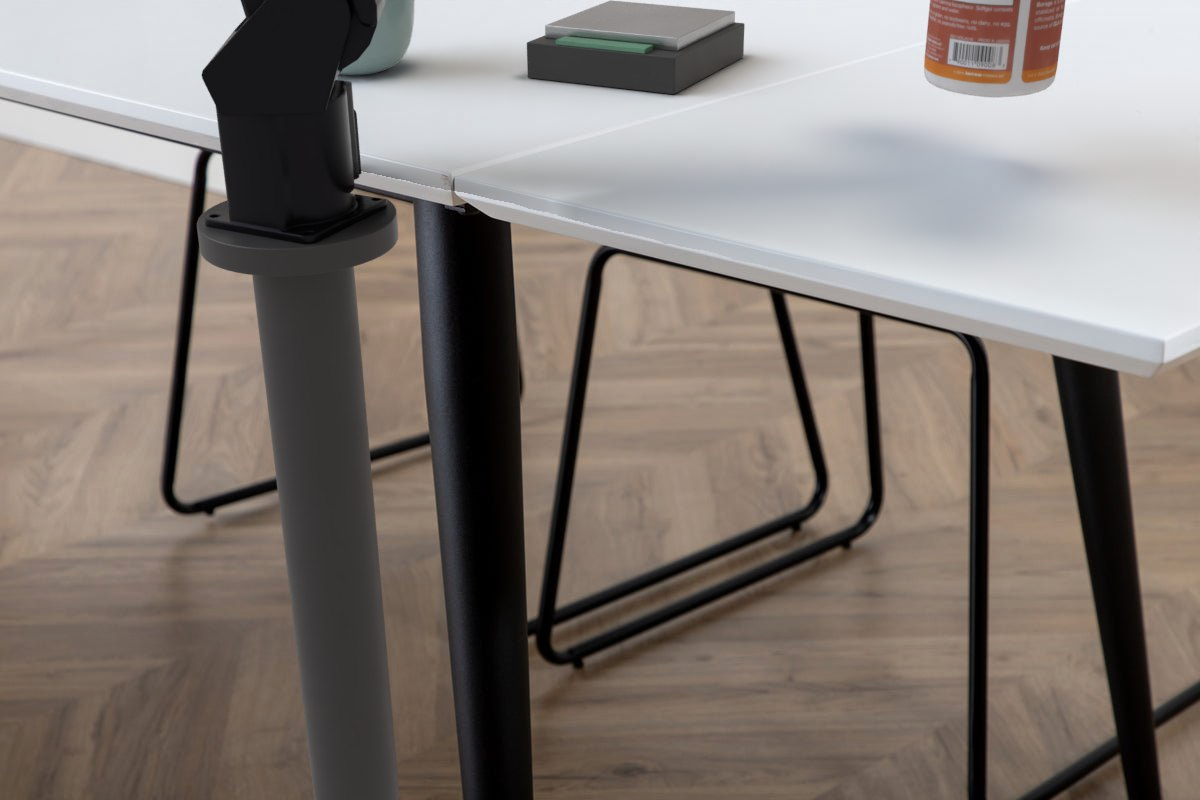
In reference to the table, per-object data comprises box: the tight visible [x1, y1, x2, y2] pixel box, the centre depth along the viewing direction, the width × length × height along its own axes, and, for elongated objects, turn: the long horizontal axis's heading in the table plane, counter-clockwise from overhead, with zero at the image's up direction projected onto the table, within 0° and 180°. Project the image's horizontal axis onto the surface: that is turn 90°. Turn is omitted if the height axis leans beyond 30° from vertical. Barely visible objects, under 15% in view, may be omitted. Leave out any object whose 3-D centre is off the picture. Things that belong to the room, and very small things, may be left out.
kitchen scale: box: [526, 0, 745, 95], centre depth 92 cm, size 11×10×3 cm
